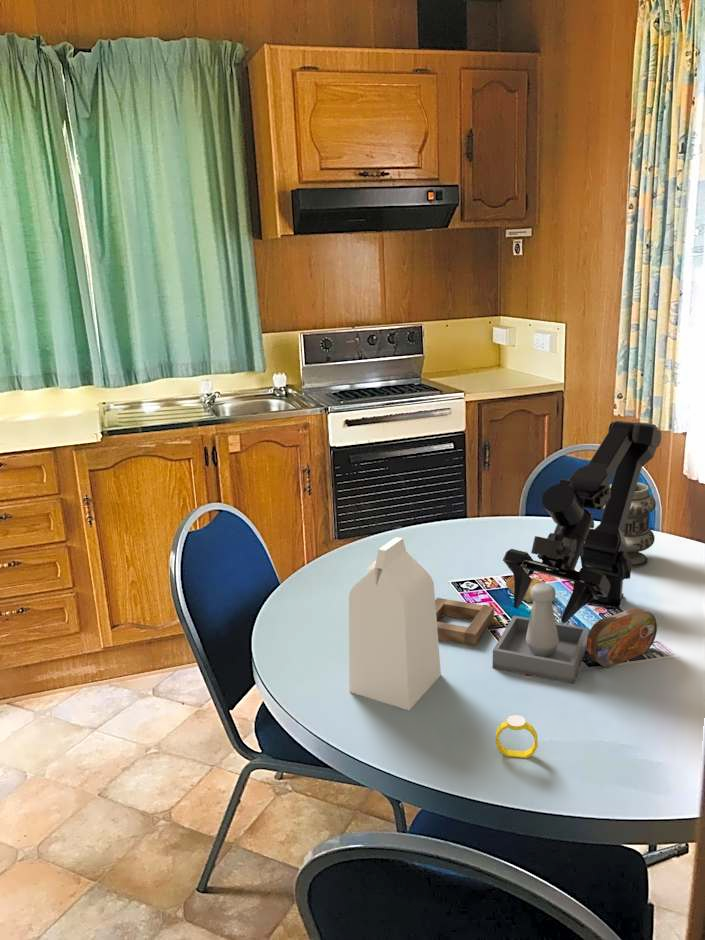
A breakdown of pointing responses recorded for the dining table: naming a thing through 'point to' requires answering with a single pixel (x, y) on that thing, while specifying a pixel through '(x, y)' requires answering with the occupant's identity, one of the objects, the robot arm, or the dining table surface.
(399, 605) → the milk
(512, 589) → the pastry
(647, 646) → the tin
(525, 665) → the bin
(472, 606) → the brown flat square frame
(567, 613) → the robot arm
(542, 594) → the salt shaker
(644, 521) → the apothecary jar
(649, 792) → the dining table surface
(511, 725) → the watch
